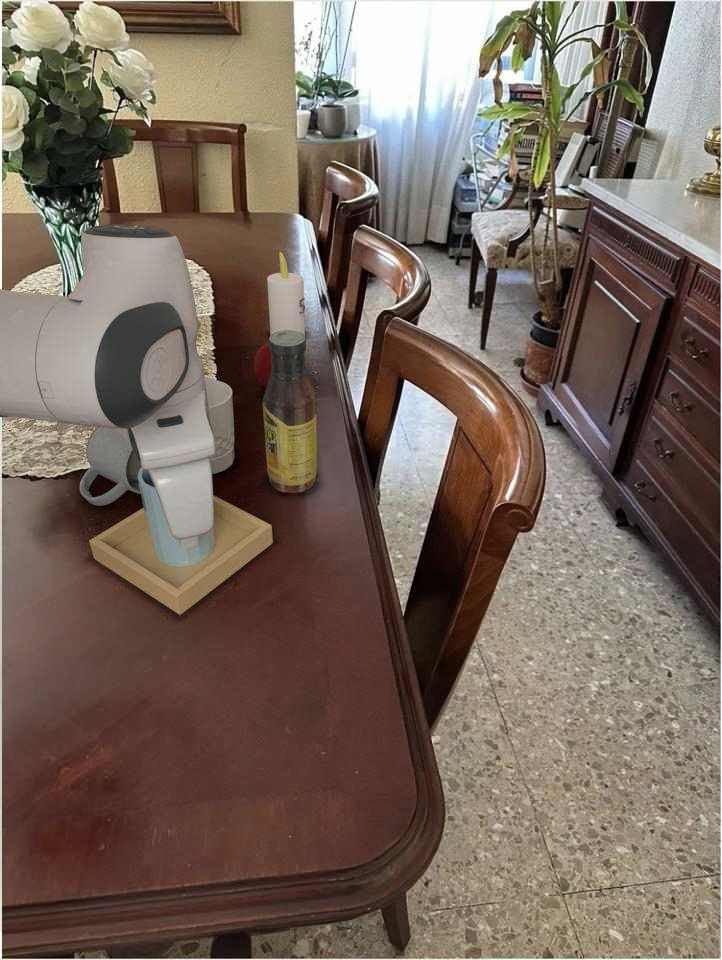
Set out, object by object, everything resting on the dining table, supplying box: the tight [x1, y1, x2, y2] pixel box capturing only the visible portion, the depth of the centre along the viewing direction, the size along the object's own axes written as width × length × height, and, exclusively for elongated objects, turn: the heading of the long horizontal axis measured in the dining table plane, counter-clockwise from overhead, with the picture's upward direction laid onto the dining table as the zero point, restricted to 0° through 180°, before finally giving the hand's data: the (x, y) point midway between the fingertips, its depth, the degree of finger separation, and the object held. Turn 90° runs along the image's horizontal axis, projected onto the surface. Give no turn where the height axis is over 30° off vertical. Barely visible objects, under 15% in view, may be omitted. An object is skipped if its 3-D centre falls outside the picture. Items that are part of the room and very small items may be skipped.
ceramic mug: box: [79, 427, 142, 507], centre depth 80 cm, size 11×8×8 cm
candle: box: [266, 251, 306, 337], centre depth 117 cm, size 6×6×15 cm
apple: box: [253, 341, 272, 389], centre depth 102 cm, size 8×8×8 cm
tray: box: [88, 494, 274, 616], centre depth 72 cm, size 14×14×3 cm
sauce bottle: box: [262, 330, 318, 494], centre depth 78 cm, size 7×6×20 cm
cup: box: [138, 467, 215, 567], centre depth 69 cm, size 7×7×10 cm
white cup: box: [205, 378, 236, 475], centre depth 84 cm, size 8×8×10 cm
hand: (179, 517), depth 70 cm, fingers open, 8 cm apart
